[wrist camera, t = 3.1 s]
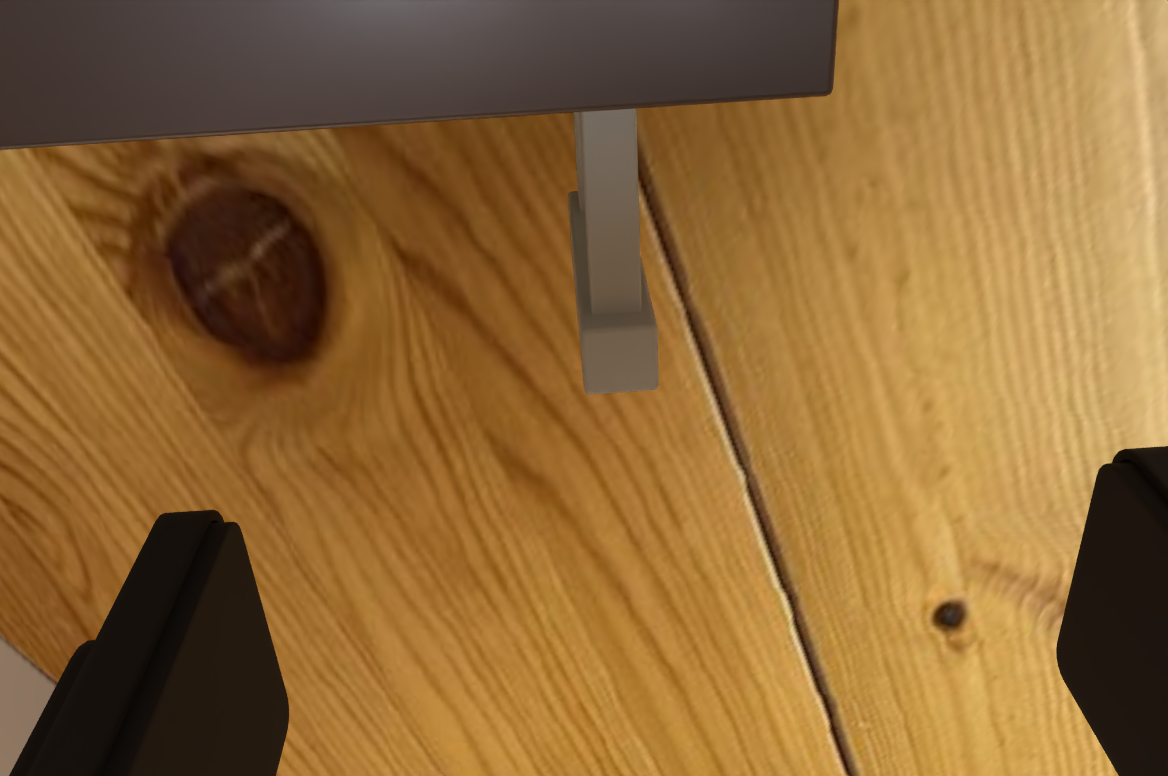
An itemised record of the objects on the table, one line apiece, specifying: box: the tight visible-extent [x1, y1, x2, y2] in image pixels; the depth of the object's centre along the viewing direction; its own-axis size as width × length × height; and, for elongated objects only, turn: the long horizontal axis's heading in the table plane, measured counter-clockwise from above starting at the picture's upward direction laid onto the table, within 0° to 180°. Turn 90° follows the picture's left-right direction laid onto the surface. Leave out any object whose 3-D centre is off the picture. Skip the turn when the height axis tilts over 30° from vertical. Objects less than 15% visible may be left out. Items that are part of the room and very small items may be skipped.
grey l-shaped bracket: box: [568, 109, 659, 394], centre depth 19 cm, size 8×6×9 cm
